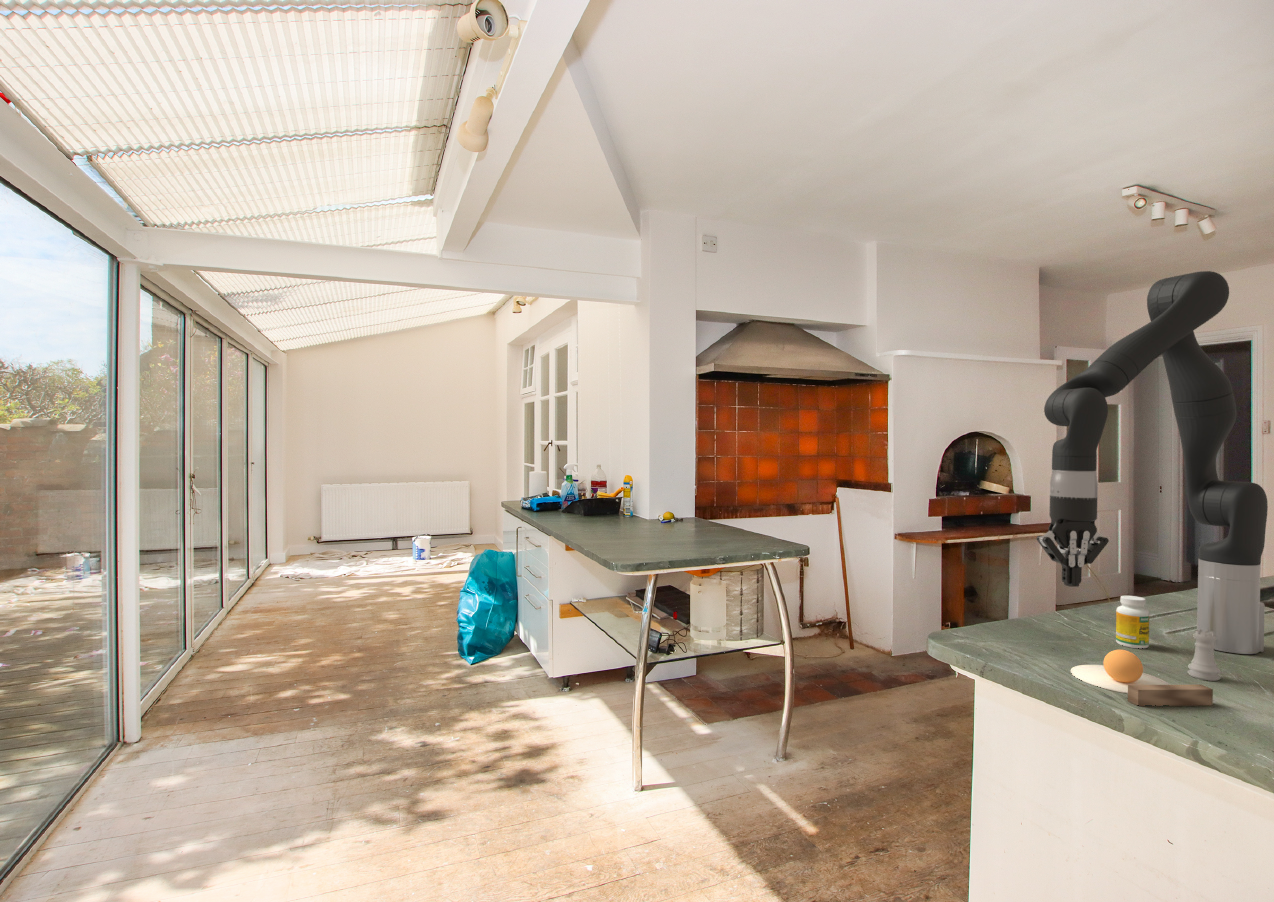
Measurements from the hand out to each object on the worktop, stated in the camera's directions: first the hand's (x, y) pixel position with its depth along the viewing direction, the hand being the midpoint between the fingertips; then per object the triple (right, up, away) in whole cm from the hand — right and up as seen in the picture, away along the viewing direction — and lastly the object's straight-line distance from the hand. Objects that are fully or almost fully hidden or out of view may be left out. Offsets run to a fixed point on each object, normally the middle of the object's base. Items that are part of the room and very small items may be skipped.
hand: (1071, 585), depth 124 cm
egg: (0, -11, -13) cm, 17 cm away
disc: (0, -14, -12) cm, 18 cm away
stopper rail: (+1, -14, -22) cm, 26 cm away
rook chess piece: (+16, -14, -10) cm, 24 cm away
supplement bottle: (+18, -14, +8) cm, 24 cm away
